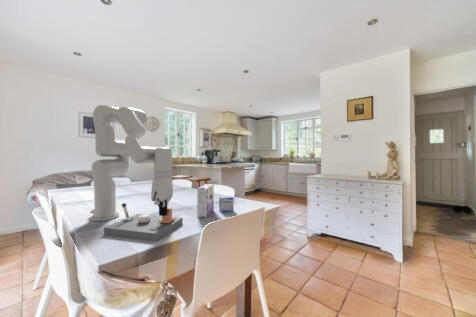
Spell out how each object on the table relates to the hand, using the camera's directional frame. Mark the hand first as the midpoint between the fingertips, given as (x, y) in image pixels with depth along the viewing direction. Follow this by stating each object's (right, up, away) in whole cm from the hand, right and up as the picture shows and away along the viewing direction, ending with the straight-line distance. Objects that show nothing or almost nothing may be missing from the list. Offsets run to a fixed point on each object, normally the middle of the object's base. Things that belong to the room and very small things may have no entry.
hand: (163, 215), depth 88 cm
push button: (-10, -4, +2) cm, 11 cm away
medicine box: (+27, -7, +31) cm, 41 cm away
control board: (-9, -7, +2) cm, 11 cm away
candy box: (+15, -7, +25) cm, 30 cm away
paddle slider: (+1, -3, +3) cm, 5 cm away
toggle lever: (-18, -3, +4) cm, 19 cm away
